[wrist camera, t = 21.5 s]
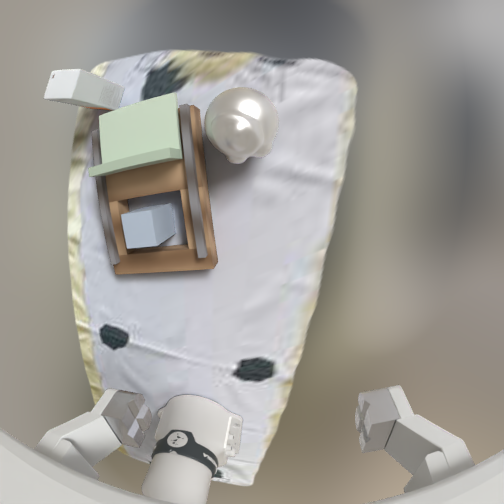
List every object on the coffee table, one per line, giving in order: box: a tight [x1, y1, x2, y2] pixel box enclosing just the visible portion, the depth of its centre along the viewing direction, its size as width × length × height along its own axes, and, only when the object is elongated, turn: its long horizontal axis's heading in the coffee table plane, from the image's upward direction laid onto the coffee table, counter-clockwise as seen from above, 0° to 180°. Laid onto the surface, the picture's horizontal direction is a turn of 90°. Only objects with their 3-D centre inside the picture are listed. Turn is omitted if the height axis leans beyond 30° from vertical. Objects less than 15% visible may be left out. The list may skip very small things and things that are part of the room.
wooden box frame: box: [92, 104, 218, 274], centre depth 37 cm, size 22×16×4 cm
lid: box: [88, 93, 183, 177], centre depth 31 cm, size 9×12×4 cm
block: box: [121, 203, 176, 249], centre depth 36 cm, size 4×4×7 cm
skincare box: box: [44, 69, 125, 111], centre depth 29 cm, size 6×4×12 cm
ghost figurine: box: [204, 87, 279, 164], centre depth 30 cm, size 9×10×10 cm
